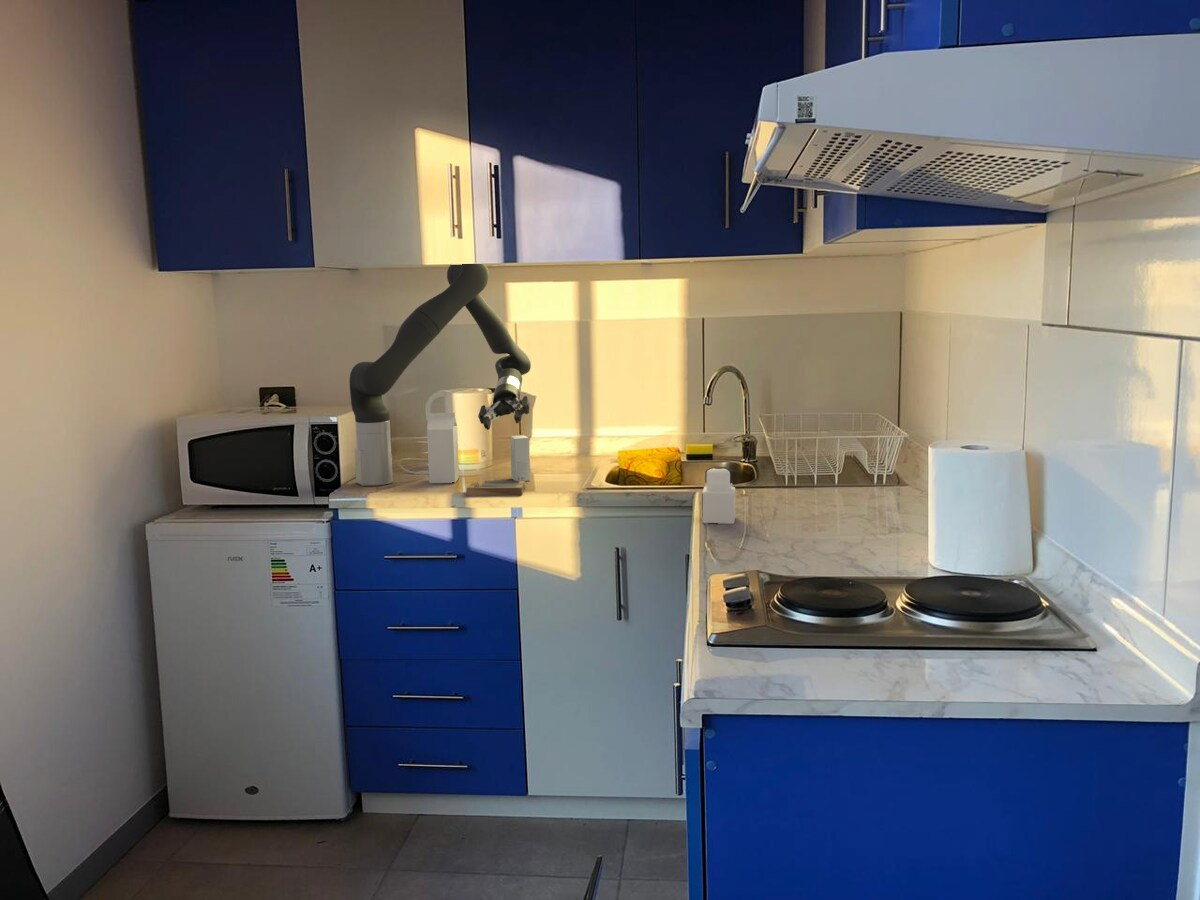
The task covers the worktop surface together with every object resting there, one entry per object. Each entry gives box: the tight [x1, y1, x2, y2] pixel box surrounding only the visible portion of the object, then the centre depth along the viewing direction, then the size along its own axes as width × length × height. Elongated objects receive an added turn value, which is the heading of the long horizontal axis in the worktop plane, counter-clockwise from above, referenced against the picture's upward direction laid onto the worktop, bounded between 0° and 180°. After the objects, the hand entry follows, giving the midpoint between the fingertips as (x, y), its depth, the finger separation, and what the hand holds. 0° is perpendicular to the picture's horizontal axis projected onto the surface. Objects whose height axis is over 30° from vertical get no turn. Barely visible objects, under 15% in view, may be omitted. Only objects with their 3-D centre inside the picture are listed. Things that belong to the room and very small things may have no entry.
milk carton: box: [426, 412, 460, 484], centre depth 288 cm, size 7×7×19 cm
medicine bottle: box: [701, 466, 736, 525], centre depth 235 cm, size 7×7×12 cm
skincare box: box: [509, 435, 531, 482], centre depth 290 cm, size 6×4×12 cm
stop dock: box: [466, 480, 526, 497], centre depth 278 cm, size 18×14×2 cm
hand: (501, 423), depth 290 cm, fingers open, 8 cm apart
